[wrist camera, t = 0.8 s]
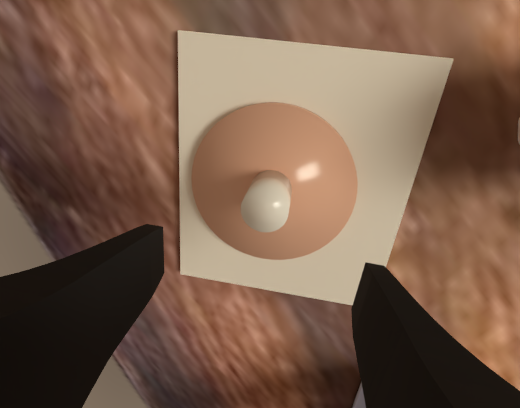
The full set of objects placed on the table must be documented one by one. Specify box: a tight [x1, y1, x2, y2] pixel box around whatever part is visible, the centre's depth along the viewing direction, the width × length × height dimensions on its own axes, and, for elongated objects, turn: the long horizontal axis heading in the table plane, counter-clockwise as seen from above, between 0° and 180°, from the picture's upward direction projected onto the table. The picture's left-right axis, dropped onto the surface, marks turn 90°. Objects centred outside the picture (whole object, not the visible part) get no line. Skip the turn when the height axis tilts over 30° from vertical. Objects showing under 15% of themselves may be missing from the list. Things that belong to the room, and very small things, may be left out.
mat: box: [178, 30, 453, 305], centre depth 20 cm, size 16×14×1 cm
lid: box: [191, 102, 358, 260], centre depth 18 cm, size 10×10×4 cm
